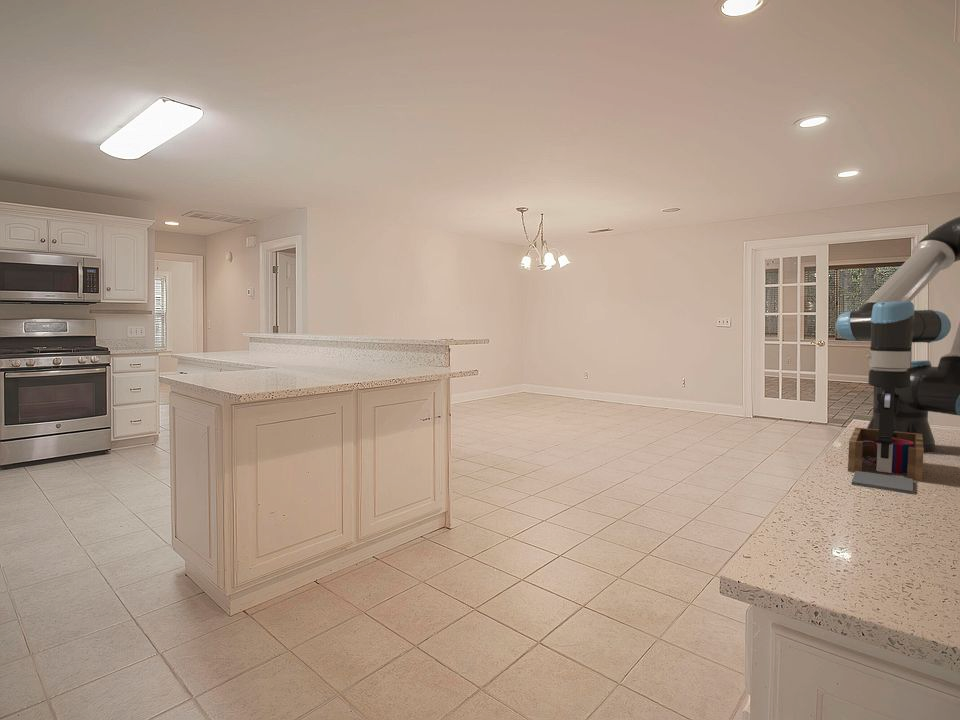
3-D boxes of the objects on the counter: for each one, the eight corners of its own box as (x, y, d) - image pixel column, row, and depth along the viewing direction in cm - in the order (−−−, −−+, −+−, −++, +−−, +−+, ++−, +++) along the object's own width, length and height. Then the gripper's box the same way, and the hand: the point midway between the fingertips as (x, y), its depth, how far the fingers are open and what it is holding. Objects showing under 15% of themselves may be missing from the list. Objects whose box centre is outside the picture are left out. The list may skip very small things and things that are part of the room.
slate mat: (855, 473, 118) (855, 470, 118) (912, 481, 112) (912, 478, 112) (851, 484, 110) (851, 481, 110) (912, 493, 104) (913, 491, 104)
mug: (913, 476, 116) (914, 445, 115) (857, 468, 122) (859, 439, 121) (912, 469, 121) (913, 440, 121) (858, 462, 127) (860, 434, 127)
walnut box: (854, 454, 134) (855, 427, 134) (920, 462, 126) (922, 433, 125) (847, 471, 120) (849, 441, 119) (922, 481, 112) (923, 449, 111)
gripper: (871, 365, 130) (867, 456, 131) (866, 372, 114) (861, 474, 116) (910, 366, 125) (905, 461, 127) (910, 374, 110) (905, 481, 111)
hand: (884, 467), depth 121 cm, fingers open, 7 cm apart
